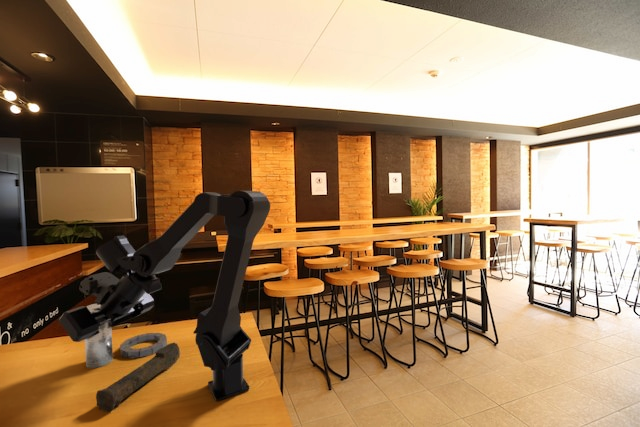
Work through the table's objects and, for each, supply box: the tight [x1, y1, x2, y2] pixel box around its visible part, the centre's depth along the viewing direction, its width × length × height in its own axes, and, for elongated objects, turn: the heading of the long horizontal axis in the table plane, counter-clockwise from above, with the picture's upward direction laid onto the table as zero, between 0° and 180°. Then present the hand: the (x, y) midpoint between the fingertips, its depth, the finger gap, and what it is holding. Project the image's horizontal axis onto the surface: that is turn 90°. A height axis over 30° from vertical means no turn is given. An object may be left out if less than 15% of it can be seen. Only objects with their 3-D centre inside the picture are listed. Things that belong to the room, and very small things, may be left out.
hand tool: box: [95, 342, 181, 412], centre depth 63 cm, size 19×4×5 cm, turn 162°
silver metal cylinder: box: [84, 302, 114, 369], centre depth 70 cm, size 5×5×13 cm
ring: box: [119, 332, 168, 359], centre depth 77 cm, size 10×10×2 cm
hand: (93, 333), depth 70 cm, fingers open, 7 cm apart
